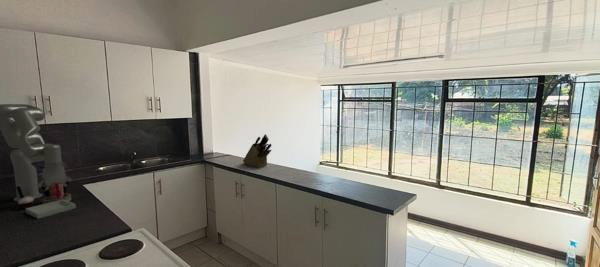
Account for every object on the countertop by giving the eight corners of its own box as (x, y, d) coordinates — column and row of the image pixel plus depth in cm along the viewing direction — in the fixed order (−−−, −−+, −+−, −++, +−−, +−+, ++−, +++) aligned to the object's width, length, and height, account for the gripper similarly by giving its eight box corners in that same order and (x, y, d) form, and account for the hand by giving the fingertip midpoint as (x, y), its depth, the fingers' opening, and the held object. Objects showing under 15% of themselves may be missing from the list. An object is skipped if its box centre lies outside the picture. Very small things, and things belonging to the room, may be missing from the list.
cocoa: (35, 208, 151) (35, 187, 150) (20, 211, 146) (19, 190, 145) (31, 204, 156) (30, 184, 155) (16, 207, 151) (15, 186, 150)
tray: (26, 212, 143) (25, 208, 143) (63, 203, 157) (63, 199, 157) (37, 218, 136) (37, 214, 135) (76, 208, 150) (75, 204, 149)
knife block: (263, 169, 241) (262, 135, 238) (242, 163, 267) (241, 132, 264) (273, 167, 249) (272, 134, 245) (252, 161, 274) (251, 132, 271)
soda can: (63, 198, 165) (61, 179, 164) (65, 201, 161) (63, 181, 160) (47, 201, 160) (45, 182, 159) (49, 204, 155) (47, 184, 154)
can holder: (39, 203, 158) (38, 198, 158) (65, 197, 169) (65, 192, 168) (48, 207, 152) (47, 201, 152) (74, 200, 163) (74, 195, 162)
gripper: (68, 162, 167) (71, 189, 169) (31, 167, 152) (34, 197, 154) (74, 163, 164) (76, 191, 166) (36, 169, 149) (39, 200, 151)
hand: (56, 194), depth 160 cm, fingers closed on soda can, 6 cm apart
